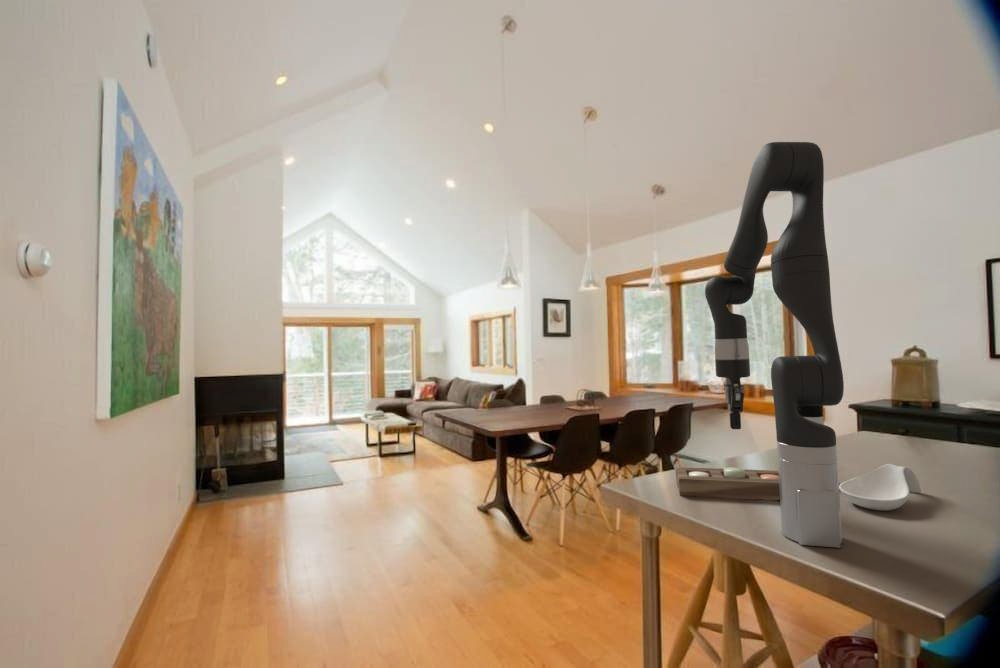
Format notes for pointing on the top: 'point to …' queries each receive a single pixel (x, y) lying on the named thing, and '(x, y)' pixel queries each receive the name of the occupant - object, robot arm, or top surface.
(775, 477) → the terracotta button
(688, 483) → the button panel
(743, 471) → the sage button
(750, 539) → the top surface
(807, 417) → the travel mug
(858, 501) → the spoon rest
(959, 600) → the top surface
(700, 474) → the cream button
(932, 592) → the top surface
